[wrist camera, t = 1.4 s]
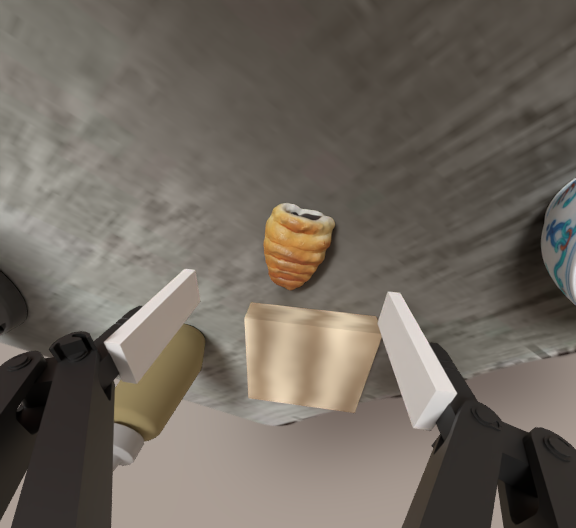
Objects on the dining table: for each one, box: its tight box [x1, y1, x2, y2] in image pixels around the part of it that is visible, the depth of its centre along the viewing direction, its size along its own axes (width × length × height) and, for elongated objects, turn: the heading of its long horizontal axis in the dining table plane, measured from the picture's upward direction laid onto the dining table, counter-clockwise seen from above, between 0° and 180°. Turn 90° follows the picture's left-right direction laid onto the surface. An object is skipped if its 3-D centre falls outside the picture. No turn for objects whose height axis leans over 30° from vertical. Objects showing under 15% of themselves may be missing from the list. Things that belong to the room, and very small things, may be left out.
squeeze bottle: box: [113, 324, 206, 471], centre depth 25 cm, size 8×8×18 cm
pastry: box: [264, 203, 335, 290], centre depth 23 cm, size 9×7×4 cm
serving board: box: [245, 302, 382, 413], centre depth 30 cm, size 16×16×3 cm
